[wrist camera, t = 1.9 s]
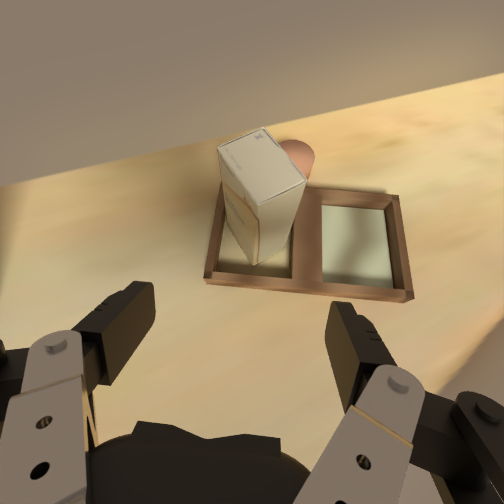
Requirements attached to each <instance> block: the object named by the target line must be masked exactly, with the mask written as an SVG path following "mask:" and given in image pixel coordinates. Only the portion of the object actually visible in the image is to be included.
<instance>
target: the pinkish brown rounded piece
mask: <svg viewBox="0 0 504 504" xmlns="http://www.w3.org/2000/svg"><path fill="white" fill-rule="evenodd" d="M279 145H280V147H281V148H282V149H283V150H284V151H285V152H286V153H287V155H288V156H289V157H290V159H291V160H292V161H293V162H294V163H295V165H296V166H297V167H298V168H299V170H300V171H301V172H302V173H303V175H304V176H305V177H306V178H307V180H308V178H309V176H310V172H311V169H312V166H313V163H314V159H315V155H314V152H313V150H312V148H311V147H310V146H309V145H307V144H306V143H304V142H301V141H297V140H288V141H284V142H282V143H280V144H279Z"/></svg>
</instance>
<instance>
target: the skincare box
mask: <svg viewBox="0 0 504 504" xmlns="http://www.w3.org/2000/svg"><path fill="white" fill-rule="evenodd" d="M217 150H218V156H219V163H220V171H221V178H222V185H223V193H224V201H225V209H226V217H227V225H228V227H229V229H230V230H231V232H232V234H233V235H234V237H235V239H236V240H237V242H238V244H239V245H240V247H241V248H242V250H243V252H244V253H245V255H246V256H247V258H248V260H249V261H250V263H251V264H252V266H255V265H257V264H259V263H261V262H262V261H264V260H266V259H268V258H270V257H272V256H274V255H275V254H277V253H279V252H281V251H283V250H284V248H285V245H286V242H287V239H288V236H289V233H290V230H291V227H292V224H293V221H294V218H295V215H296V212H297V209H298V206H299V203H300V200H301V197H302V195H303V192H304V189H305V186H306V183H307V178H306V177H305V176H304V175H303V173H302V172H301V171H300V170H299V168H298V167H297V166H296V165H295V163H294V162H293V161H292V160H291V159H290V157H289V156H288V155H287V153H286V152H285V151H284V150H283V149H282V148H281V147H280V145H279V144H278V143H277V142H276V141H275V140H274V138H273V137H272V136H271V135H270V134H269V133H268V131H267V130H266V129H265V128H264V127H262V128H259V129H257V130H255V131H252V132H250V133H247V134H245V135H242V136H240V137H238V138H235V139H233V140H231V141H229V142H226V143H224V144H222V145H219V146H218V147H217Z"/></svg>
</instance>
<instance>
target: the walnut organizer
mask: <svg viewBox="0 0 504 504" xmlns="http://www.w3.org/2000/svg"><path fill="white" fill-rule="evenodd" d="M326 205H329V206H326ZM338 206H341V207H338ZM350 207H353V208H350ZM362 208H365V209H362ZM374 209H377V210H374ZM384 214H385V216H384ZM225 215H226V209H225V201H224V193H223V185H222V181H221V185H220V190H219V196H218V201H217V207H216V212H215V218H214V223H213V228H212V234H211V239H210V245H209V250H208V256H207V261H206V267H205V272H204V277H203V279H204V280H205V282H206V284H211V285H222V286H232V287H242V288H252V289H263V290H273V291H283V292H294V293H304V294H314V295H325V296H335V297H345V298H355V299H366V300H376V301H386V302H397V303H405V302H407V301H410V300H412V299H415V298H414V292H413V285H412V279H411V272H410V266H409V260H408V253H407V247H406V240H405V234H404V227H403V221H402V214H401V208H400V201H399V195H390V194H378V193H365V192H353V191H341V190H328V189H316V188H305V189H304V192H303V195H302V197H301V200H300V203H299V206H298V209H297V212H296V215H295V218H294V221H293V224H292V238H291V262H290V279H287V278H276V277H266V276H255V275H245V274H234V273H224V272H216V270H217V264H218V258H219V251H220V245H221V239H222V233H223V227H224V221H225ZM385 222H386V224H385ZM386 230H387V233H386ZM387 238H388V241H387ZM388 246H389V249H388ZM389 254H390V257H389ZM390 262H391V265H390ZM391 270H392V273H391ZM392 278H393V281H392ZM393 286H394V289H393Z"/></svg>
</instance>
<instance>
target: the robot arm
mask: <svg viewBox="0 0 504 504" xmlns="http://www.w3.org/2000/svg"><path fill="white" fill-rule="evenodd" d="M155 314H156V310H155V298H154V286H153V284H152V283H151V282H142V281H133V282H132V283H131V284H130V285H129V286H128V287H126V288H125V289H124V290H123V291H122V290H120V291H118V292H116V293H114V294H112V295H110V296H109V297H107V298H106V299H105V300H104V301H103V302H102V303H101V305H100V304H99V305H98V306H97V307H96V308H95V309H94V311H92V312H90V313H89V314H88V315H87V316H86V317H85V318H84V319H82V320H81V321H80V322H79V323H78V324H77V325H76V326H74V327H73V328H72V329H71V330H63V331H58V332H54V333H51V334H48V335H46V336H44V337H42V338H40V339H39V340H37V341H36V342H35V343H34V344H33V345H32V346H31V347H30V348H22V349H14V350H5V347H4V344H3V342H2V340H0V504H397V503H398V500H399V497H400V492H401V489H402V486H403V482H404V478H405V475H406V471H407V467H408V464H409V463H411V464H413V465H415V466H418V467H420V468H422V469H425V470H427V471H429V472H430V474H431V476H432V478H433V481H434V483H435V485H436V487H437V490H438V492H439V494H440V496H441V499H442V501H443V503H444V504H504V503H503V502H502V500H503V501H504V407H503V406H502V405H500V404H498V403H497V402H495V401H494V400H492V399H490V398H488V397H486V396H484V395H481V394H478V393H475V392H469V391H466V392H461V393H459V394H458V396H457V398H456V400H455V401H452V400H449V399H446V398H443V397H440V396H438V395H435V394H432V393H429V392H427V391H425V390H424V387H423V386H422V384H421V383H420V381H419V380H418V379H417V378H416V377H415V376H413V375H412V374H411V373H409V372H408V371H406V370H404V369H402V368H400V367H398V366H397V364H396V363H395V361H394V359H393V358H392V356H391V354H390V353H389V351H388V349H387V347H386V346H385V344H384V342H383V341H382V339H381V337H380V335H379V334H378V332H377V330H376V329H375V327H374V325H373V324H372V323H371V322H370V321H369V320H368V319H367V318H366V317H364V316H363V315H357V313H356V311H355V309H354V307H353V305H352V304H351V303H350V302H340V301H332V303H331V306H330V311H329V315H328V320H327V325H326V330H325V344H326V348H327V352H328V355H329V359H330V362H331V366H332V370H333V373H334V377H335V380H336V384H337V388H338V391H339V395H340V398H341V402H342V406H343V409H344V413H345V416H344V417H343V419H342V421H341V423H340V424H339V426H338V428H337V429H336V431H335V433H334V434H333V436H332V438H331V440H330V441H329V443H328V445H327V446H326V448H325V450H324V451H323V453H322V455H321V456H320V458H319V460H318V462H317V463H316V465H315V467H314V468H313V470H312V472H310V471H309V470H308V469H307V468H306V467H305V466H304V465H302V464H301V463H300V462H298V461H297V460H296V459H294V458H292V457H291V456H289V455H287V454H285V453H283V452H281V444H280V438H275V437H266V436H258V435H250V434H240V435H233V436H227V437H220V438H213V439H204V438H201V437H199V436H197V435H194V434H192V433H190V432H187V431H185V430H183V429H180V428H178V427H176V426H174V425H168V424H160V423H152V422H144V421H138V422H137V424H136V426H135V428H134V430H133V432H132V434H127V435H123V436H119V437H116V438H113V439H111V440H108V441H106V442H104V443H102V444H100V445H99V443H98V434H97V423H96V413H95V403H94V395H93V390H94V389H95V387H96V386H97V385H98V384H99V385H108V386H111V384H112V383H113V382H114V380H115V379H116V377H117V376H118V374H119V373H120V371H121V370H122V369H123V367H124V366H125V364H126V363H127V361H128V360H129V358H130V357H131V356H132V354H133V353H134V351H135V350H136V348H137V347H138V345H139V344H140V343H141V341H142V340H143V338H144V337H145V335H146V334H147V332H148V331H149V330H150V328H151V327H152V325H153V323H154V320H155ZM490 481H491V482H492V484H493V485H494V487H495V488H496V490H497V492H498V493H499V495H500V497H501V498H502V500H501V498H500V497H499V495H498V493H497V492H496V490H495V489H494V487H493V485H492V484H491V482H490Z"/></svg>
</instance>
